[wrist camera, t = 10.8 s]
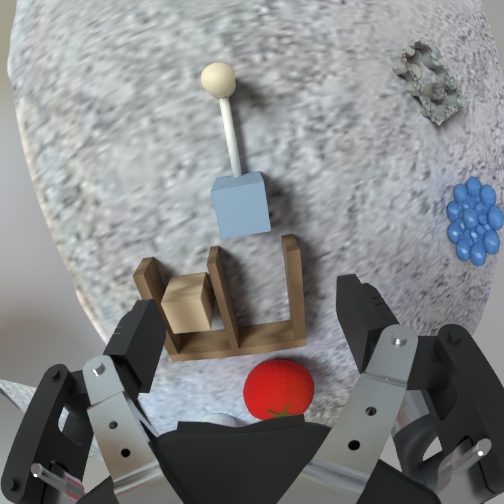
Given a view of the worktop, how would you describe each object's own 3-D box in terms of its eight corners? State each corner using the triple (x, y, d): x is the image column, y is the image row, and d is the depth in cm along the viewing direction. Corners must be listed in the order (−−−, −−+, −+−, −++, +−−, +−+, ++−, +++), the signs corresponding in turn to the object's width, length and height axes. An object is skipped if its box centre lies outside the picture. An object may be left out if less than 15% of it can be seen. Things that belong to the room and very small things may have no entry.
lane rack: (293, 233, 34) (300, 249, 30) (300, 325, 41) (306, 345, 37) (143, 258, 35) (132, 275, 31) (177, 341, 42) (172, 361, 38)
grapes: (452, 244, 36) (497, 283, 25) (426, 237, 35) (474, 278, 25) (474, 179, 31) (528, 205, 20) (449, 165, 30) (508, 189, 20)
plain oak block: (205, 271, 36) (200, 298, 31) (214, 301, 39) (210, 329, 33) (170, 277, 37) (160, 303, 31) (181, 305, 39) (173, 333, 34)
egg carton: (381, 58, 24) (397, 53, 21) (415, 39, 22) (432, 33, 19) (424, 127, 28) (442, 129, 25) (453, 103, 26) (471, 105, 23)
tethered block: (242, 70, 25) (243, 58, 20) (265, 211, 33) (270, 231, 27) (197, 78, 25) (187, 69, 20) (224, 218, 33) (221, 239, 28)
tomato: (235, 382, 48) (235, 430, 38) (256, 341, 43) (261, 394, 33) (290, 390, 50) (297, 434, 40) (318, 351, 45) (332, 400, 35)
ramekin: (237, 428, 57) (237, 442, 53) (201, 426, 57) (200, 441, 53) (237, 411, 53) (237, 428, 49) (197, 410, 53) (195, 426, 49)
